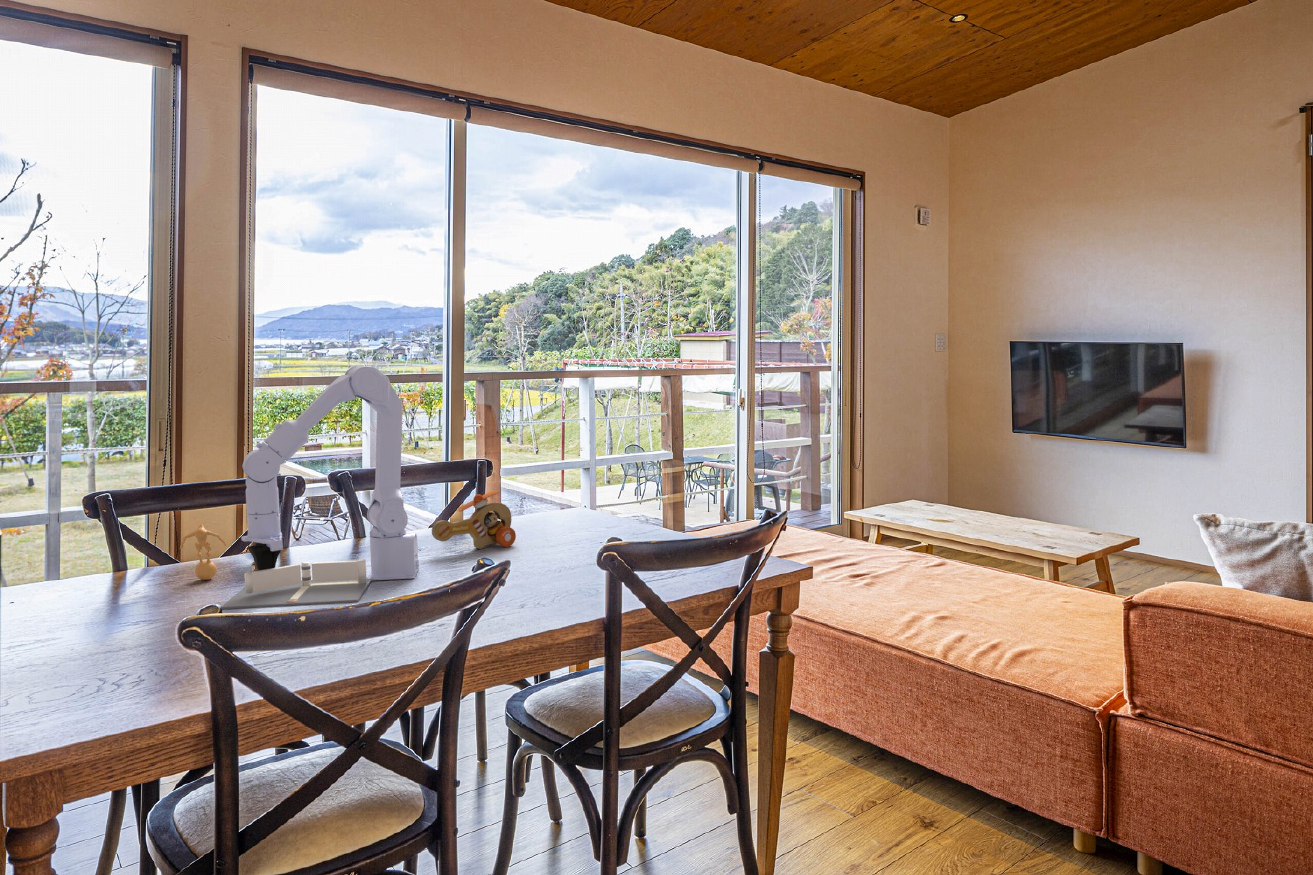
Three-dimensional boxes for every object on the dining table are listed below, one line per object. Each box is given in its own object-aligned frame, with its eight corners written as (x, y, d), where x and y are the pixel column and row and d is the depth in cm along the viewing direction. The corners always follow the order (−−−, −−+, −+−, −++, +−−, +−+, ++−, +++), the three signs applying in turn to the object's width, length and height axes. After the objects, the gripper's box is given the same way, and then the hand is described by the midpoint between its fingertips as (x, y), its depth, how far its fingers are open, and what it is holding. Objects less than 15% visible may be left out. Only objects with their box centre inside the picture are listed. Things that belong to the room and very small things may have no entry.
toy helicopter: (520, 544, 199) (518, 489, 197) (443, 560, 184) (441, 500, 183) (501, 539, 205) (499, 485, 203) (425, 554, 190) (423, 496, 189)
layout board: (373, 578, 169) (373, 576, 169) (357, 601, 154) (357, 599, 154) (249, 584, 166) (249, 582, 166) (220, 609, 150) (220, 606, 150)
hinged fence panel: (299, 582, 163) (298, 563, 163) (301, 583, 162) (300, 565, 162) (244, 592, 157) (243, 572, 156) (246, 593, 156) (245, 574, 155)
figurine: (230, 575, 173) (226, 519, 172) (226, 582, 168) (222, 524, 166) (185, 579, 170) (182, 522, 169) (179, 586, 165) (175, 528, 163)
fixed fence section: (367, 581, 166) (366, 559, 166) (365, 583, 165) (364, 561, 164) (303, 584, 164) (302, 562, 164) (301, 586, 163) (300, 564, 162)
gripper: (229, 509, 161) (233, 577, 162) (252, 520, 150) (256, 592, 152) (267, 504, 166) (271, 570, 167) (292, 515, 155) (296, 585, 156)
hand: (267, 580), depth 160 cm, fingers closed, pressing on hinged fence panel
